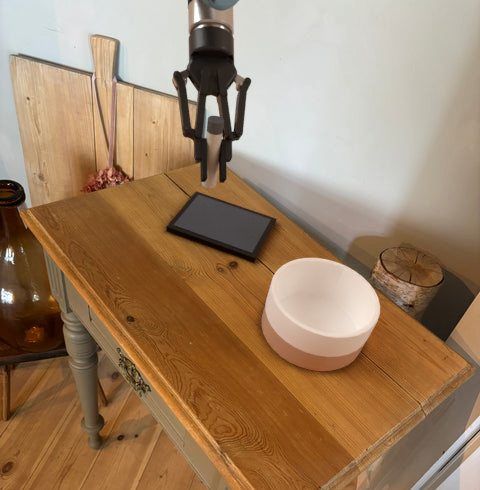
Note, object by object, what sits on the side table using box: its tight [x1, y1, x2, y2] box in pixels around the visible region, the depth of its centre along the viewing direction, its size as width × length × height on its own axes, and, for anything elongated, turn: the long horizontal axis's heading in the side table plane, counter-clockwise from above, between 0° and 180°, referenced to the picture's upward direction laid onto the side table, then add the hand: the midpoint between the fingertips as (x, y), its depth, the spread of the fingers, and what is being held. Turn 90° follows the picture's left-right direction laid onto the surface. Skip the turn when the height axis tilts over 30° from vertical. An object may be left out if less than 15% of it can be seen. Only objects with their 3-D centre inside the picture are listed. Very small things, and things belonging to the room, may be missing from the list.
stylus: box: [201, 115, 224, 189], centre depth 79 cm, size 3×3×12 cm
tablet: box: [165, 190, 277, 264], centre depth 91 cm, size 18×14×1 cm
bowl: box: [260, 257, 381, 372], centre depth 74 cm, size 17×17×8 cm
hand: (213, 180), depth 78 cm, fingers closed on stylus, 2 cm apart
